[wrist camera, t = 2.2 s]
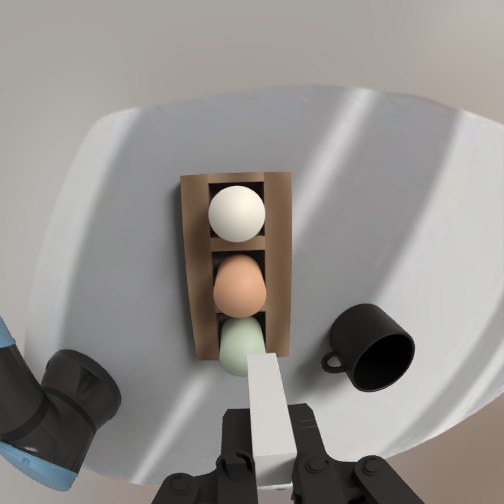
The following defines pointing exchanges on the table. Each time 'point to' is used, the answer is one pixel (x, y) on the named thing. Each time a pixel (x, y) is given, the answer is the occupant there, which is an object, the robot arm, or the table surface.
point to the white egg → (236, 214)
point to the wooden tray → (269, 240)
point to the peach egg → (239, 286)
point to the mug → (369, 348)
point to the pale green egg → (240, 344)
